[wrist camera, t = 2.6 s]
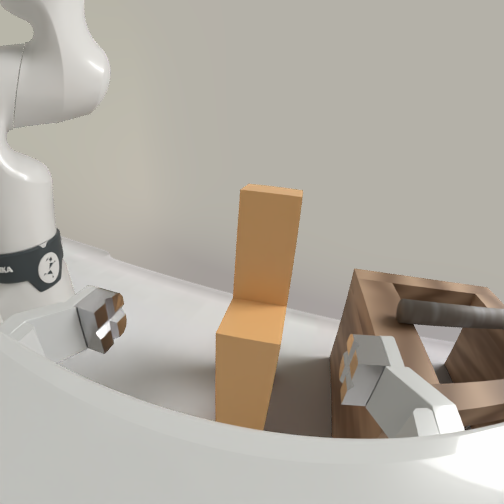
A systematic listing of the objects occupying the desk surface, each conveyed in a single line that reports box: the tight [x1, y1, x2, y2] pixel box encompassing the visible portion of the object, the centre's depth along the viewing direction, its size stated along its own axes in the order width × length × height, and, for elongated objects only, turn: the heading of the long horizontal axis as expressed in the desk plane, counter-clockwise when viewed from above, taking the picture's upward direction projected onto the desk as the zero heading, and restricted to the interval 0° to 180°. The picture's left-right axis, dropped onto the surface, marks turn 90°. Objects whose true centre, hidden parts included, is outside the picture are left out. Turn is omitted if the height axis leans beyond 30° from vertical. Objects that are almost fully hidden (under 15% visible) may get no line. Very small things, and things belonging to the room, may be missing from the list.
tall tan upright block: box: [215, 184, 303, 430], centre depth 24 cm, size 4×12×22 cm, turn 170°
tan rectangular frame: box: [330, 269, 504, 439], centre depth 22 cm, size 20×20×15 cm
